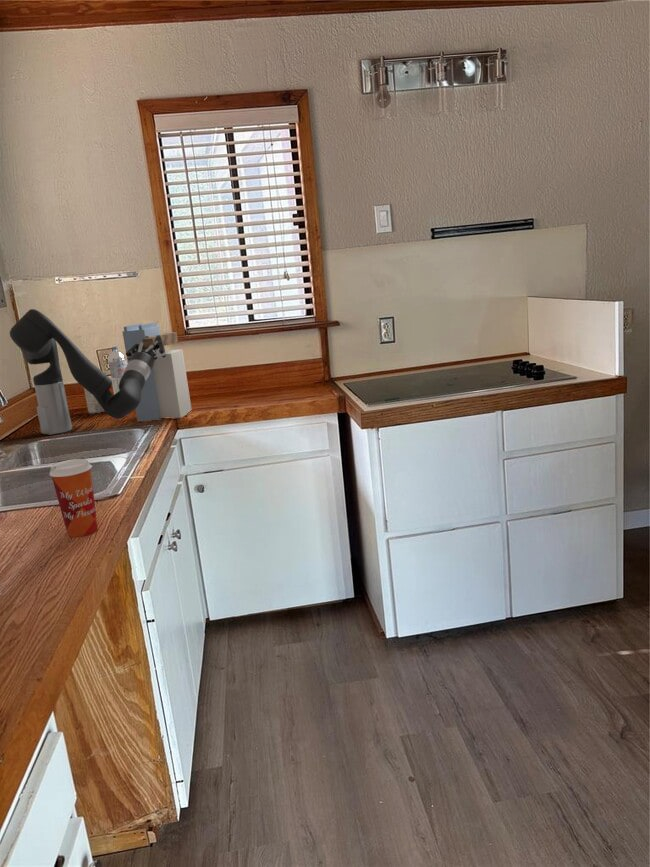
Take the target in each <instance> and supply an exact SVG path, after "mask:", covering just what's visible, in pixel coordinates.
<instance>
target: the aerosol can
mask: <svg viewBox="0 0 650 867" xmlns="http://www.w3.org/2000/svg"><path fill="white" fill-rule="evenodd" d="M83 390H84V397H85V401H86V406H87V412H88V414H89V415H96V414H95V413H98V414H102V413H101V412H103V413H106V412H105V411H104V409H103V408H102V407H101V405H100V404H99V403H98V401H97V400H96V398H95V397H94V396H93V395H92V394H91V393H90V392H89V391H87V390H86V389H85V388H84V387H83Z"/></svg>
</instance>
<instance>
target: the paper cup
mask: <svg viewBox="0 0 650 867" xmlns="http://www.w3.org/2000/svg"><path fill="white" fill-rule="evenodd" d="M92 468H93V464H91V463H90V461H88V460H87V459H85V458H74V459H68V460H63V461H60V462H57V463H54V464H53V465H51V466H50V472H49V476H50V477H51V478H52V482H53V486H54V489H55V493H56V498H57V501H58V502H57V503H58V505H59V508H60V512H61V517H62V520H63V522H64V526H65V530H66V534H67V535H68V537H70V538H83V537H86V536H90V535H92V534H95V533H96V532H97V531H98V529H99V528H98V517H97V510H96V509H97V508H96V502H95V494H94V486H93V479H92V471H91V470H92Z"/></svg>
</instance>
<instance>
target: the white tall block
mask: <svg viewBox="0 0 650 867" xmlns="http://www.w3.org/2000/svg"><path fill="white" fill-rule="evenodd" d="M165 354H166V357H164V358H163V357H162V356H160V357H158V358H157V359H156V360H155V361H154V366H153V373H154V379H155V385H156V391H157V397H158V404H159V410H160V416H161V418H165V417H174V418H173V419H181V418H183V417H185V416H186V415H188V414H189V413H188V412H190V411H191V410H192V409H193V408H192V404H191V403H192V402H191V398H190V391H189V385H188V384H189V383H188V378H187V370H186V363H185V358H184V357H185V356H184V351H183V348H182V349H171V350H165ZM192 411H193V410H192ZM192 411H191V412H192ZM191 412H190V413H191ZM187 413H188V414H187Z"/></svg>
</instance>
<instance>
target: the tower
mask: <svg viewBox="0 0 650 867" xmlns="http://www.w3.org/2000/svg"><path fill="white" fill-rule="evenodd" d="M160 328H161V327H160V325H158V323H157V321H154V322H150V323H145V324H143V323H136V324H131V325H126V326H123V331H122V338H123V344H124V349H125V350H124V351H125V353H126V352H127V351H128V350H130V349H131V348H132V347H133V346H134V345H135V344H138V345H139V344H140V343H141V342H142V341H143V339H144V338H145V337H146V336H148V337H153V336H157V335H161V329H160ZM135 351H136V349H135ZM158 351H159V350H158ZM128 362H129V360H128V358H127V357H126V363H128ZM135 414H136V415H135V416H136V419H137V420H136V421H137V422H139V421H142V422H150V421H149V420H158V421H160V420H162V419H161V416H160V410H159V404H158V397H157V391H156V385H155V379H154V373H153V369H152V371H151V373H150V375H149V377H148V379H147V381H146V382H145V384H144V386H143V388H142V390H141V400H140V403H139V405H138V406H137V408H136V409H135ZM159 419H160V420H159Z"/></svg>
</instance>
